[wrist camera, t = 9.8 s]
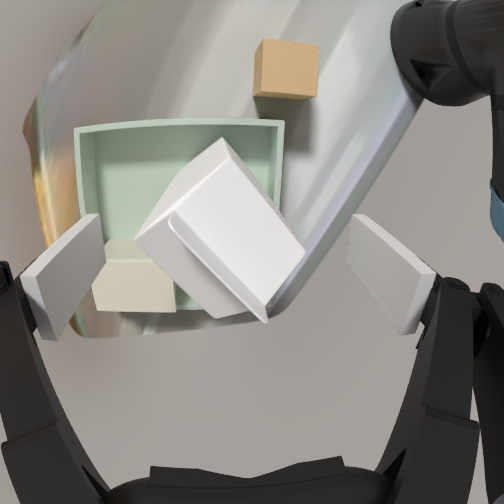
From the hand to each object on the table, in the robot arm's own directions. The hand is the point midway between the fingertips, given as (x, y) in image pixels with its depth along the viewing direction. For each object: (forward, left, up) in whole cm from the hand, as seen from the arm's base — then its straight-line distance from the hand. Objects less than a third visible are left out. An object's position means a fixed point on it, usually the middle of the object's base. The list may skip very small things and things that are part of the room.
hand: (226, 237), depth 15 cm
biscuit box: (-6, -11, -18) cm, 22 cm away
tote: (+4, +4, -18) cm, 19 cm away
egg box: (+9, +10, -18) cm, 22 cm away
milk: (0, 0, -18) cm, 18 cm away
